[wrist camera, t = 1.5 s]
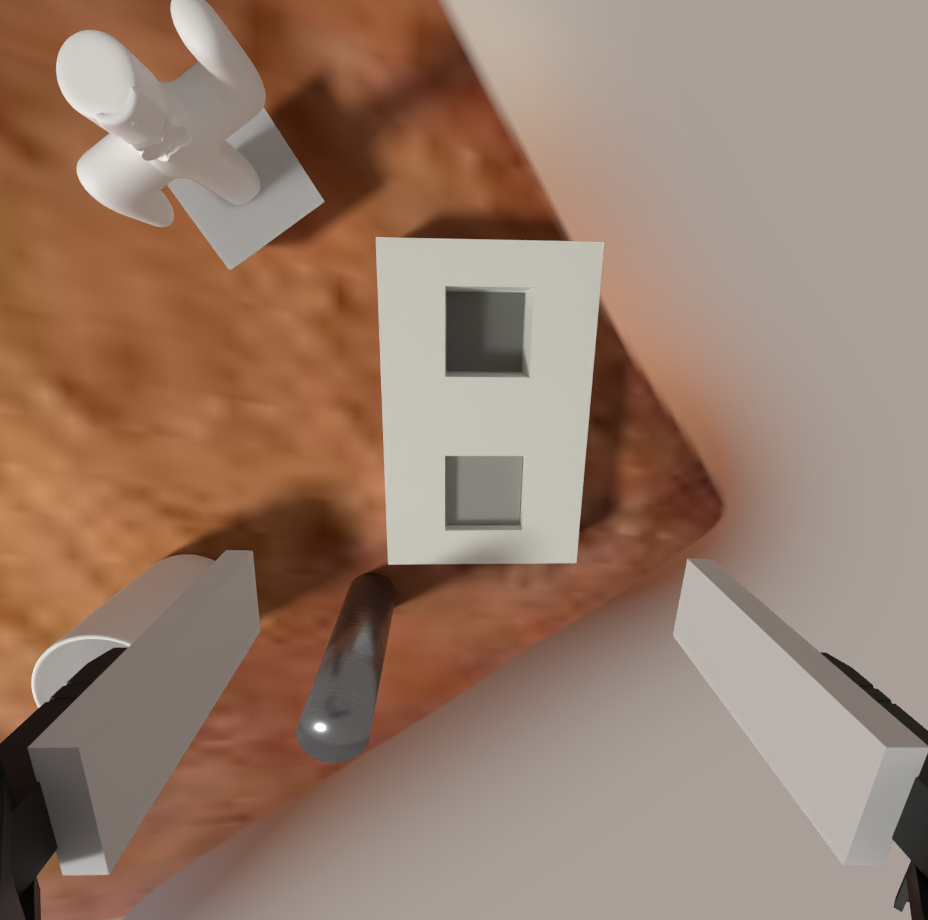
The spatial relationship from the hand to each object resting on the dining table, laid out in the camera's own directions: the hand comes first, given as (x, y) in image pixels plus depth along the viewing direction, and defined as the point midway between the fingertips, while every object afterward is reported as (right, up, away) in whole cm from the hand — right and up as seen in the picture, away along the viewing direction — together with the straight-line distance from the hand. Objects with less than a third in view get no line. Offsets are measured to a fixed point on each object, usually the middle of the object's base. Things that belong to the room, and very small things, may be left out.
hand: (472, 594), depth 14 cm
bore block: (+1, +8, +21) cm, 22 cm away
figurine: (-14, +22, +17) cm, 30 cm away
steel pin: (-8, -7, +25) cm, 27 cm away
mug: (-24, -8, +25) cm, 36 cm away
